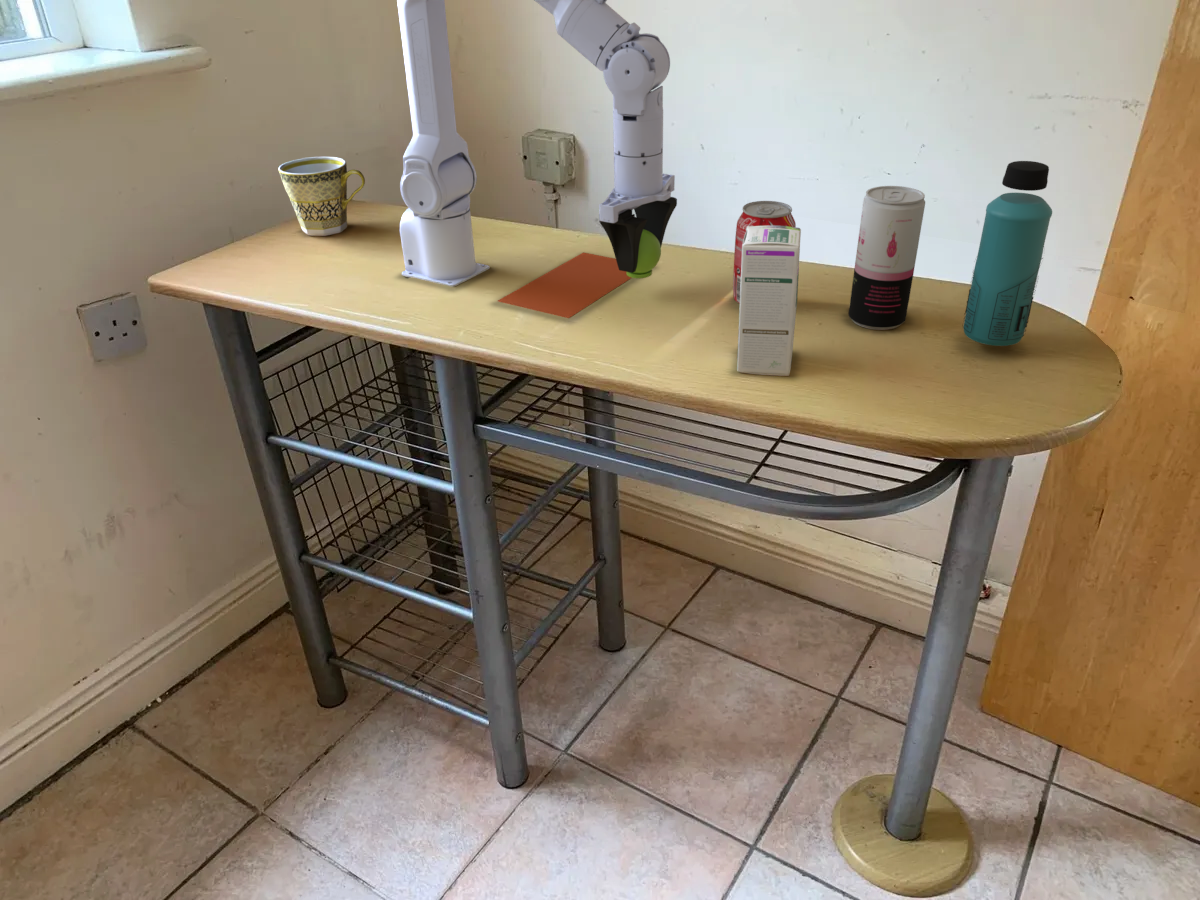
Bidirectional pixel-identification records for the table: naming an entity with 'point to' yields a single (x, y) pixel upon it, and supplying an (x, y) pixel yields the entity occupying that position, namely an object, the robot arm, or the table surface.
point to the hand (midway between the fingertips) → (638, 263)
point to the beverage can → (886, 256)
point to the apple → (646, 255)
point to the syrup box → (768, 299)
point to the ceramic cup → (319, 193)
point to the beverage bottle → (1009, 258)
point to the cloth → (570, 286)
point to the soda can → (757, 216)
